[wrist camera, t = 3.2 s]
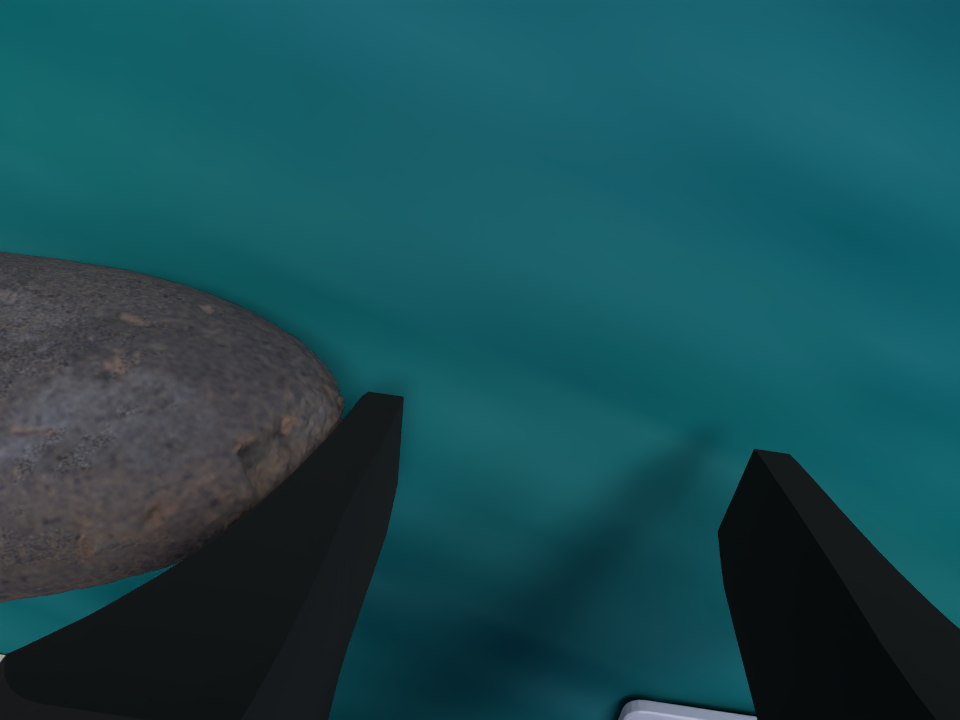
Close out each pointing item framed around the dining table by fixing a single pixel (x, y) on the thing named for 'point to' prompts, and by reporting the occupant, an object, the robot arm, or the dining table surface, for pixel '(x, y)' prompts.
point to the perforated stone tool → (138, 421)
